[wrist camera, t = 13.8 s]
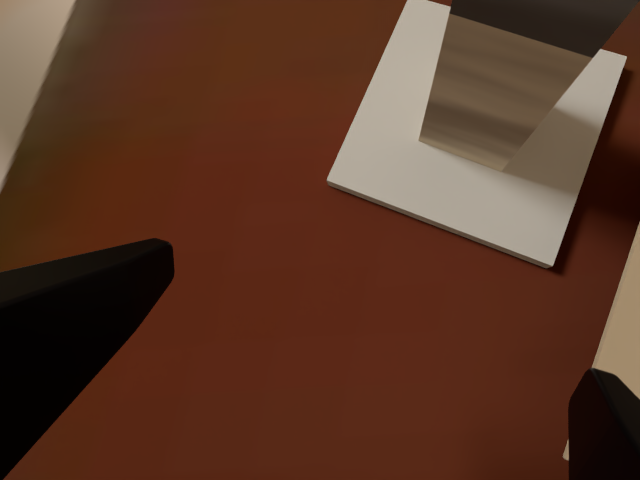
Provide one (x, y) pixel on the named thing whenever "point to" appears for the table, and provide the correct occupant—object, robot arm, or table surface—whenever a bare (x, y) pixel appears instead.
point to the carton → (623, 328)
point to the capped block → (510, 70)
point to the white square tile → (462, 174)
